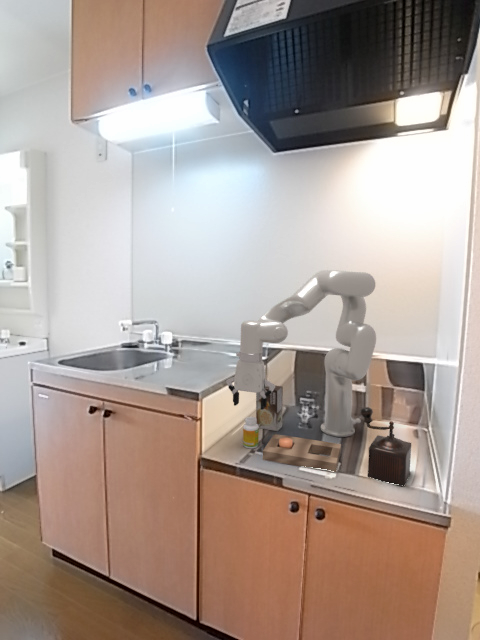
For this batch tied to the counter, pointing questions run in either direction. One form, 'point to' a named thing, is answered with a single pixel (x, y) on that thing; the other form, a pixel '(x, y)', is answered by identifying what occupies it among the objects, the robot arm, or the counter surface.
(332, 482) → the counter surface
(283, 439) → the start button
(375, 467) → the manual coffee grinder
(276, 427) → the coffee box
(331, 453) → the board
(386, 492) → the counter surface
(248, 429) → the supplement bottle
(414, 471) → the counter surface
